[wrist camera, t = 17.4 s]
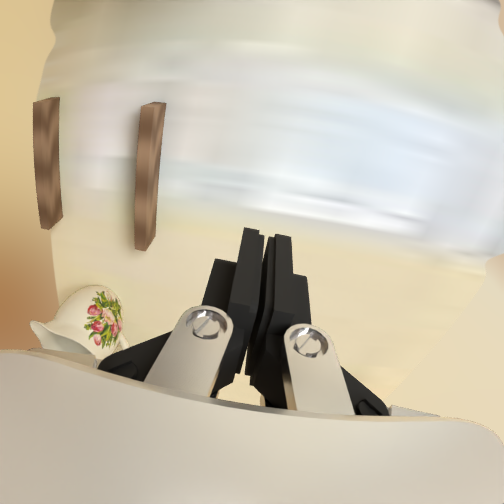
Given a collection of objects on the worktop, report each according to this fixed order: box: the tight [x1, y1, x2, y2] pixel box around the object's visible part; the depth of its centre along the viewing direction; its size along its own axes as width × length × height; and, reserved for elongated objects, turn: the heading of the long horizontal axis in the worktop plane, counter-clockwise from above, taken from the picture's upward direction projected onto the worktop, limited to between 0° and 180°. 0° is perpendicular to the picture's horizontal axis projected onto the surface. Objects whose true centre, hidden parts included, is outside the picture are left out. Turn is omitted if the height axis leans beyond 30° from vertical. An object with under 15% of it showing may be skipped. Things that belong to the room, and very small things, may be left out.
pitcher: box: [30, 285, 129, 359], centre depth 45 cm, size 11×18×14 cm, turn 30°
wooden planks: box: [33, 97, 166, 251], centre depth 36 cm, size 18×17×4 cm
